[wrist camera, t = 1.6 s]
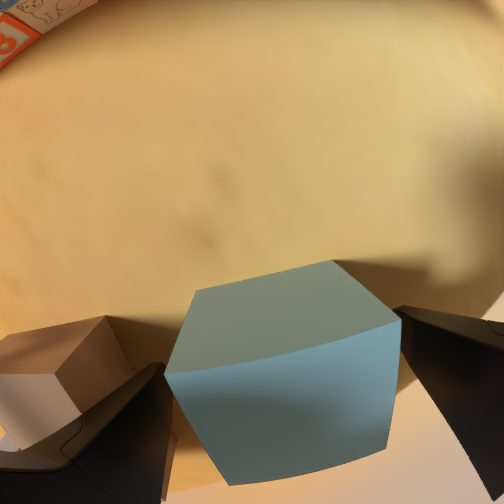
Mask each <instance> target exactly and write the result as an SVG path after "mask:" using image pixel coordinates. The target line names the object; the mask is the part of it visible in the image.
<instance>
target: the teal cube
mask: <svg viewBox="0 0 504 504" xmlns="http://www.w3.org/2000/svg"><path fill="white" fill-rule="evenodd" d="M400 342H401V318H399V317H398V316H397V315H396V314H395V313H394V312H393V311H392V310H390V309H389V308H388V307H387V306H386V305H385V304H384V303H382V302H381V301H380V300H379V299H378V298H377V297H375V296H374V295H373V294H372V293H371V292H370V291H368V290H367V289H366V288H365V287H364V286H363V285H361V284H360V283H359V282H358V281H357V280H355V279H354V278H353V277H352V276H351V275H350V274H348V273H347V272H346V271H345V270H344V269H342V268H341V267H340V266H339V265H337V264H336V263H335V262H334V261H333V260H329V261H324V262H320V263H316V264H312V265H308V266H304V267H299V268H295V269H291V270H287V271H282V272H278V273H274V274H269V275H265V276H261V277H256V278H252V279H247V280H243V281H238V282H234V283H229V284H225V285H220V286H215V287H211V288H206V289H201V290H196V292H195V295H194V297H193V300H192V302H191V305H190V307H189V310H188V312H187V315H186V317H185V320H184V323H183V325H182V328H181V330H180V333H179V335H178V338H177V341H176V343H175V346H174V349H173V351H172V354H171V357H170V359H169V362H168V365H167V367H166V370H165V373H164V376H165V378H166V380H167V382H168V384H169V386H170V388H171V390H172V392H173V394H174V396H175V398H176V400H177V402H178V404H179V405H180V407H181V409H182V411H183V413H184V415H185V416H186V418H187V420H188V422H189V424H190V425H191V427H192V429H193V431H194V432H195V434H196V436H197V437H198V439H199V441H200V442H201V444H202V446H203V447H204V449H205V450H206V452H207V454H208V455H209V457H210V458H211V460H212V461H213V463H214V464H215V466H216V467H217V469H218V470H219V472H220V473H221V475H222V476H223V478H224V479H225V481H226V482H227V483H228V485H229V486H231V485H242V484H251V483H259V482H266V481H273V480H279V479H285V478H290V477H295V476H299V475H304V474H308V473H312V472H317V471H320V470H324V469H328V468H331V467H335V466H338V465H342V464H345V463H348V462H351V461H354V460H357V459H360V458H363V457H366V456H368V455H371V454H374V453H376V452H379V451H382V450H384V449H386V446H387V440H388V436H389V431H390V426H391V420H392V415H393V408H394V401H395V395H396V387H397V378H398V369H399V357H400Z"/></svg>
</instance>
